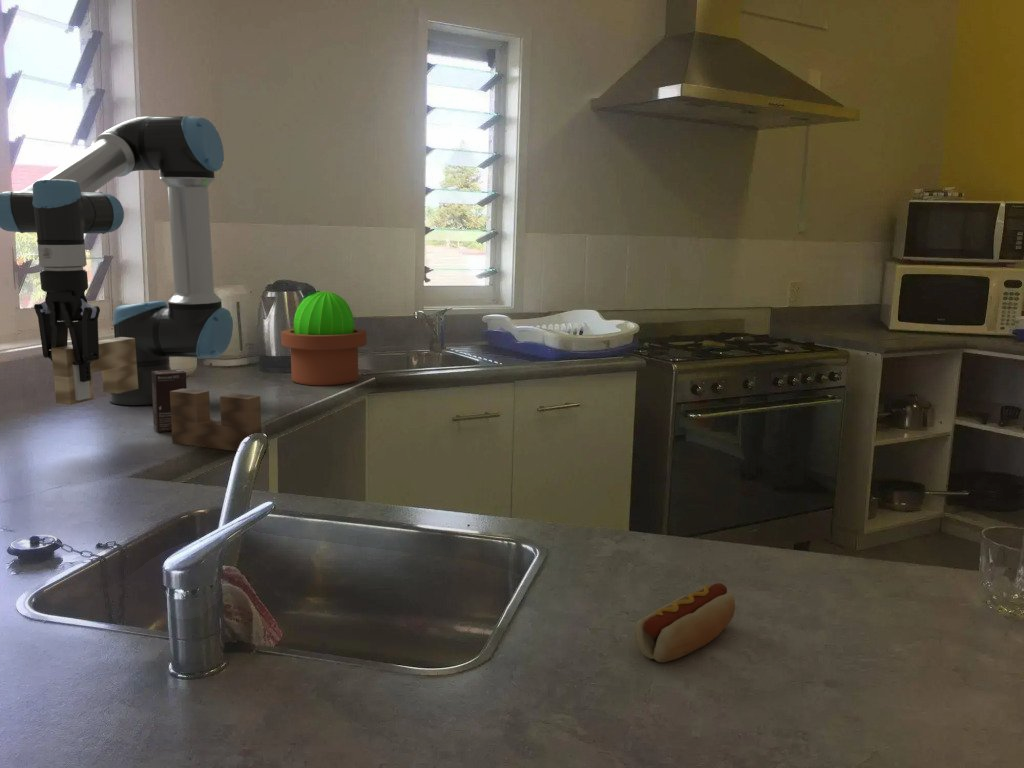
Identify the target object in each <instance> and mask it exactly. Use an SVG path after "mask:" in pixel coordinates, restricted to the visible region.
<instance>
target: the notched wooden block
mask: <svg viewBox="0 0 1024 768" xmlns="http://www.w3.org/2000/svg"><path fill="white" fill-rule="evenodd" d="M219 403H220V408H219V409H220V420H219V419H211V407H210V406H211V403H210V391H209V390H203V389H202V390H201V389H195V388H194V389H193V388H187V389H184V388H183V389H178V390H173V391H170V405H171V425H172V431H171V439H172V440H171V441H172V442H171V443H172V444H178V445H187V446H192V445H195V446H194V447H200V446H202V448H208V449H217V450H224V451H232V452H237V451H236V450H237V448H238V446H239V444H240V442H241V441H242V440H243V439H244V438H245V437H247V436H249V435H251V434H254V433H261V434H262V414H261V413H262V411H261V395H253V394H243V393H234V392H233V393H227V394H225V395H224V394H223V395H220V396H219Z"/></svg>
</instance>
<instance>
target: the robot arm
mask: <svg viewBox="0 0 1024 768" xmlns="http://www.w3.org/2000/svg"><path fill="white" fill-rule="evenodd" d="M224 151H225V150H224V146H223V142H222V138H221V136H220V133H219V131H218V130H217V128H216V126H215V125H214V124H213V123H212V121H211V120H208V119H207V118H206V117H200V116H191V115H188V116H187V115H183V116H140V117H138V116H137V117H135V118H132V119H129V120H125V121H123V122H121V123H118V124H116V125H114V126H112V127H111V128H109V129H106V130H105V131H103V132H102V133H100V134H99V135H97V136H96V137H95V138H94V139H93V140H92V141H91V145H90V146H89V147H88V148H87V149H84V150H83V151H81V152H80V153H79V154H77V155H76V156H74V157H73V158H71V159H70V160H68V161H66V162H64V163H63V164H62V165H60V166H59V167H57V168H55V169H54V170H53V171H51V172H50V173H48V174H46V175H45V176H43V177H42V178H40V179H37V180H35V181H34V182H33V183H32V184H31V185H29V186H27V187H26V188H24V189H22V190H20V191H16V190H10V191H2V192H0V229H2V230H4V231H6V232H11V233H13V232H14V233H20V234H26V233H36V238H37V239H36V243H37V253H38V264H39V267H40V268H43V269H42V270H40V272H39V279H40V280H39V281H40V288H41V290H42V292H45V293H46V294H45V298H44V301H43V302H41V303H35V304H34V305H33V309H34V311H35V314H36V316H37V320H38V327H39V329H38V330H39V335H40V342H41V349H42V356H43V358H45V359H47V358H48V359H49V360H50V361H51V362H52V351H51V348H56V347H63V346H68V337H69V336H70V337H69V338H70V341H71V345H72V346H73V351H74V355H75V360H76V362H72V363H73V364H74V365H73V376H74V388H75V399H76V400H78V401H79V400H83V399H88V398H91V394H90V382H89V381H90V380H91V373H90V372H91V371H90V363H91V362H92V361H94V360H98V359H99V316H100V313H101V309H100V306H98V305H94V306H93V305H91V303H88V299H87V297H86V294H85V292H86V291H87V290H88V289H89V280H88V279H89V278H88V271H86V269H84V268H85V267H87V253H86V243H85V235H84V234H87V235H88V234H90V235H91V234H102V235H105V234H107V233H108V234H109V233H112V232H114V231H115V232H116V231H117V230H118V229H119V228H120V227H121V226H122V224H123V222H124V218H125V212H124V207H123V204H122V203H121V201H120V200H119V199H118V198H117V197H116V196H114V195H113V194H110V193H105V192H102V191H98V190H99V189H101V188H102V187H104V186H106V185H107V184H108V183H109V182H111V181H112V180H113V179H115V178H116V177H119V178H120V177H126V176H127V175H129V174H130V173H133V172H136V171H159V173H158V174H159V179H160V180H161V182H163V183H164V184H165V185H166V187H167V196H168V197H167V199H168V212H169V213H168V214H169V215H168V216H169V226H170V227H169V228H170V241H171V242H170V243H171V256H172V258H171V259H172V260H171V261H172V270H173V272H172V273H173V286H174V294H173V295H172V296H171V297H170V298H169V299H168V302H167V301H166V300H157V301H156V300H155V301H148V302H147V301H146V302H140V303H132V304H131V303H130V304H124V305H123V304H122V305H118V306H117V307H116V308H115V309H114V310H113V324H112V327H113V333H114V334H113V335H114V337H113V338H118V337H128V338H135V348H136V362H137V376H138V389H135V390H131V391H127V392H122V393H118V394H116V393H109V399H110V400H109V401H110V403H112V404H115V405H122V406H146V405H147V406H148V405H153V398H152V376H151V372H152V371H161V370H172V369H171V365H170V358H193V359H194V358H197V359H201V360H203V359H215V358H219V357H221V356H222V355H223V354H225V352H226V351H227V349H228V347H229V345H230V343H231V340H232V337H233V330H234V320H233V317H232V313H231V311H230V310H229V309H227V308H225V307H223V306H222V298H220V296H218V295H217V294H216V293H215V290H214V289H215V285H214V269H213V268H214V265H213V253H212V252H213V251H212V234H211V232H212V231H211V215H210V200H209V199H210V197H209V186H210V185H211V184H212V183H213V182H214V181H215V172H218V171H219V170H221V168H223V162H224V159H225V153H224ZM82 356H83V357H82Z"/></svg>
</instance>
